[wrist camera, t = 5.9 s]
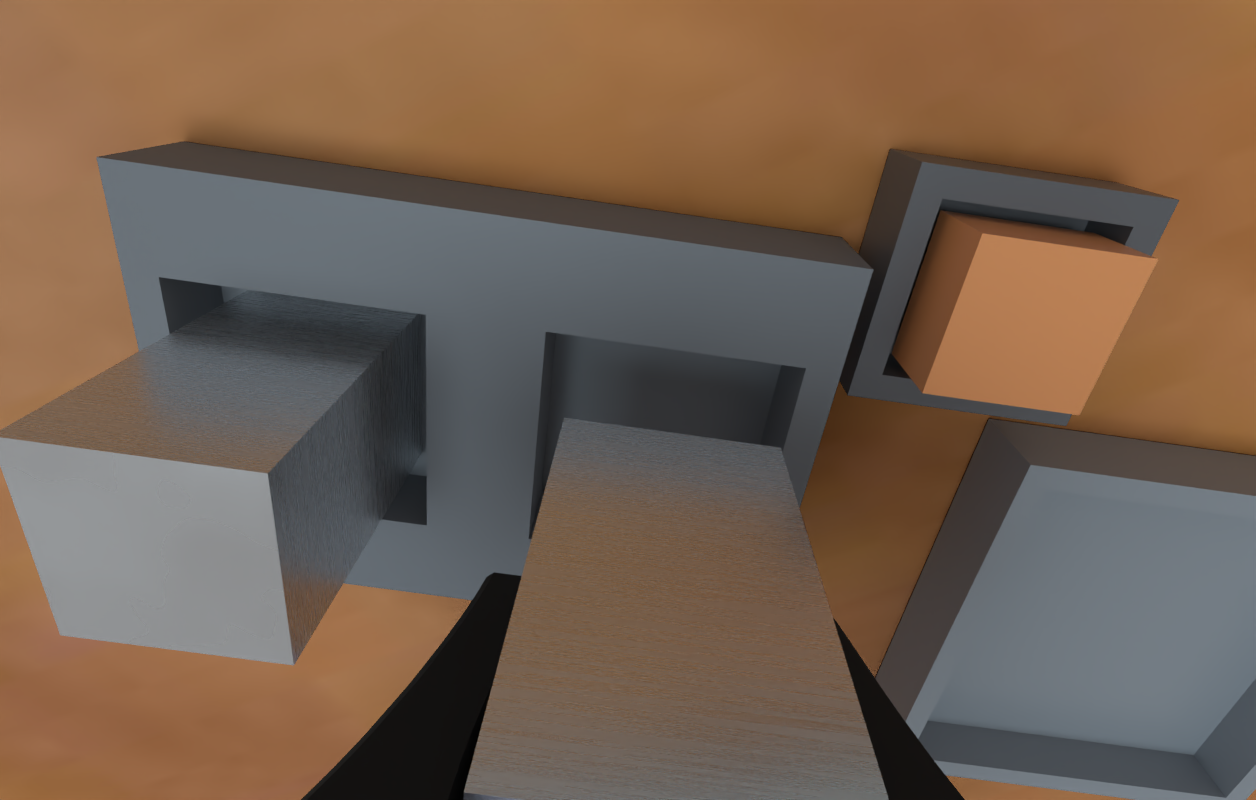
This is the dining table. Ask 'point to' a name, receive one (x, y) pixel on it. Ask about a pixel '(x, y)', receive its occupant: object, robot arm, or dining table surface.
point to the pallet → (502, 323)
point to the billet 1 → (221, 475)
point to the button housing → (977, 189)
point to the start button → (1017, 311)
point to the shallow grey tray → (1088, 619)
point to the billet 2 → (671, 636)
